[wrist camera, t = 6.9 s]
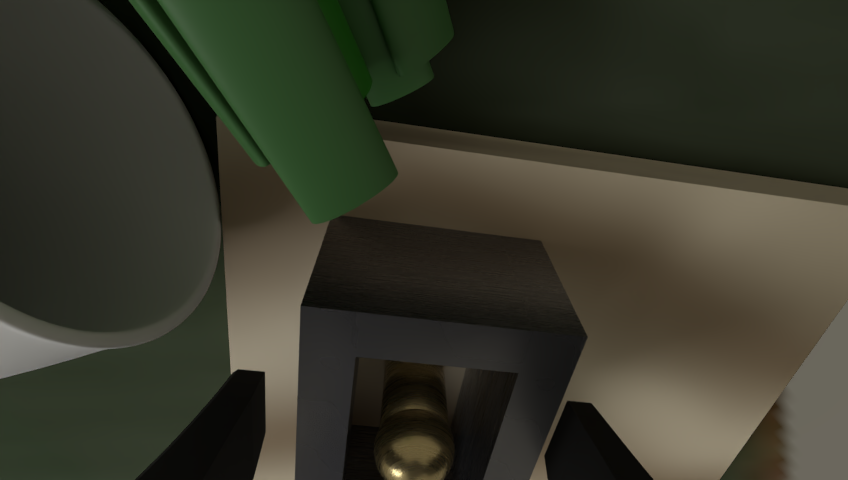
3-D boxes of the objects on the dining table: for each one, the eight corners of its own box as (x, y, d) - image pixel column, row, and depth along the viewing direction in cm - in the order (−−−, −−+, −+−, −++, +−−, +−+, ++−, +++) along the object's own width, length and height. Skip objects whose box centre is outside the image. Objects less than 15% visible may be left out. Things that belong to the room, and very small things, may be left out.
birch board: (605, 583, 22) (617, 621, 21) (255, 562, 21) (244, 602, 19) (856, 189, 13) (908, 214, 11) (239, 99, 11) (215, 116, 10)
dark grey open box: (474, 456, 15) (489, 577, 12) (317, 443, 15) (291, 565, 12) (540, 240, 11) (587, 337, 8) (331, 214, 11) (300, 306, 8)
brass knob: (440, 384, 14) (449, 514, 10) (378, 377, 13) (366, 509, 10) (451, 335, 13) (465, 461, 9) (385, 328, 13) (375, 453, 9)
